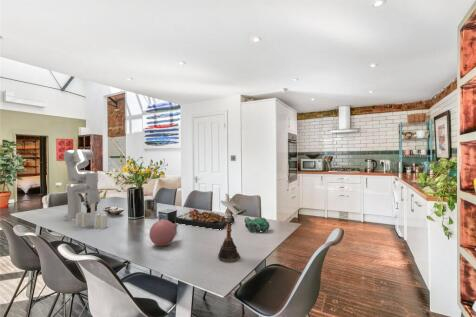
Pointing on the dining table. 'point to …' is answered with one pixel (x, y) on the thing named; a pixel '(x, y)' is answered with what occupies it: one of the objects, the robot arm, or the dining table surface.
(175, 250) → the dining table surface
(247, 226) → the mineral
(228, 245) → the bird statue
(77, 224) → the domino
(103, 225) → the domino
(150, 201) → the coffee box
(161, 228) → the dusty pink rubber ball
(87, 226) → the track board
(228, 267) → the dining table surface
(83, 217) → the domino
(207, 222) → the food platter
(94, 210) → the domino
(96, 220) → the domino
